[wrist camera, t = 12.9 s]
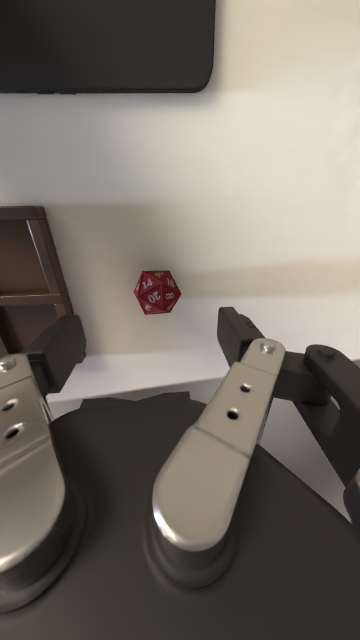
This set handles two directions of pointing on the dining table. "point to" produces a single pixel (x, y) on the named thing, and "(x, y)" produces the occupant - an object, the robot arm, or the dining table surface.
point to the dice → (157, 292)
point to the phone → (106, 46)
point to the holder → (28, 278)
